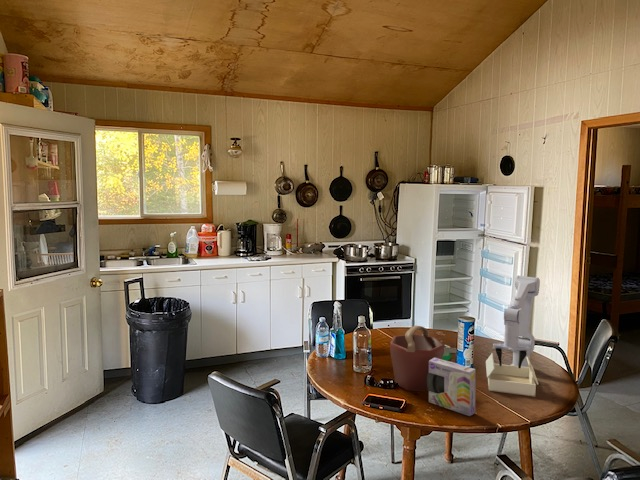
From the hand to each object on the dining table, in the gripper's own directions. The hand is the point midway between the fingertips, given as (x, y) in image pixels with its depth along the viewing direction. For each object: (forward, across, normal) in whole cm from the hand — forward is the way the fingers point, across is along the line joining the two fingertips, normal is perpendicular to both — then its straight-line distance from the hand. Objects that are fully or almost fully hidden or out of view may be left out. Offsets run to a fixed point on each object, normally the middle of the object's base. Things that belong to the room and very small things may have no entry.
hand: (509, 366), depth 213 cm
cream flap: (+1, +9, 0) cm, 9 cm away
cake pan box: (+8, -24, -31) cm, 40 cm away
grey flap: (+1, -8, 0) cm, 8 cm away
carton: (+8, 0, 0) cm, 8 cm away
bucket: (+8, -40, -12) cm, 42 cm away
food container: (+8, -28, +14) cm, 33 cm away
